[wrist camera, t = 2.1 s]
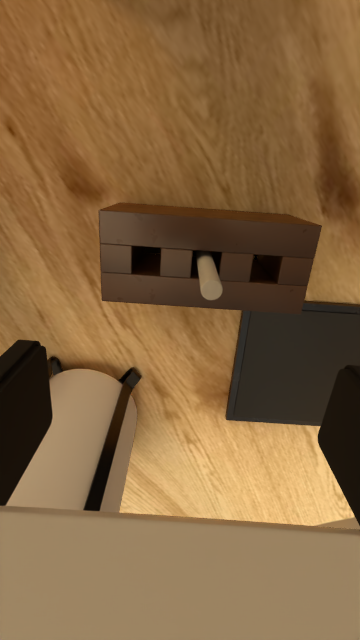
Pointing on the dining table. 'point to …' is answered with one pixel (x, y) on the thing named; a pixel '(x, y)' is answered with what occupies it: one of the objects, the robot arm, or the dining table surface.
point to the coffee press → (82, 443)
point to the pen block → (227, 252)
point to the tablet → (291, 362)
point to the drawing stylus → (208, 276)
